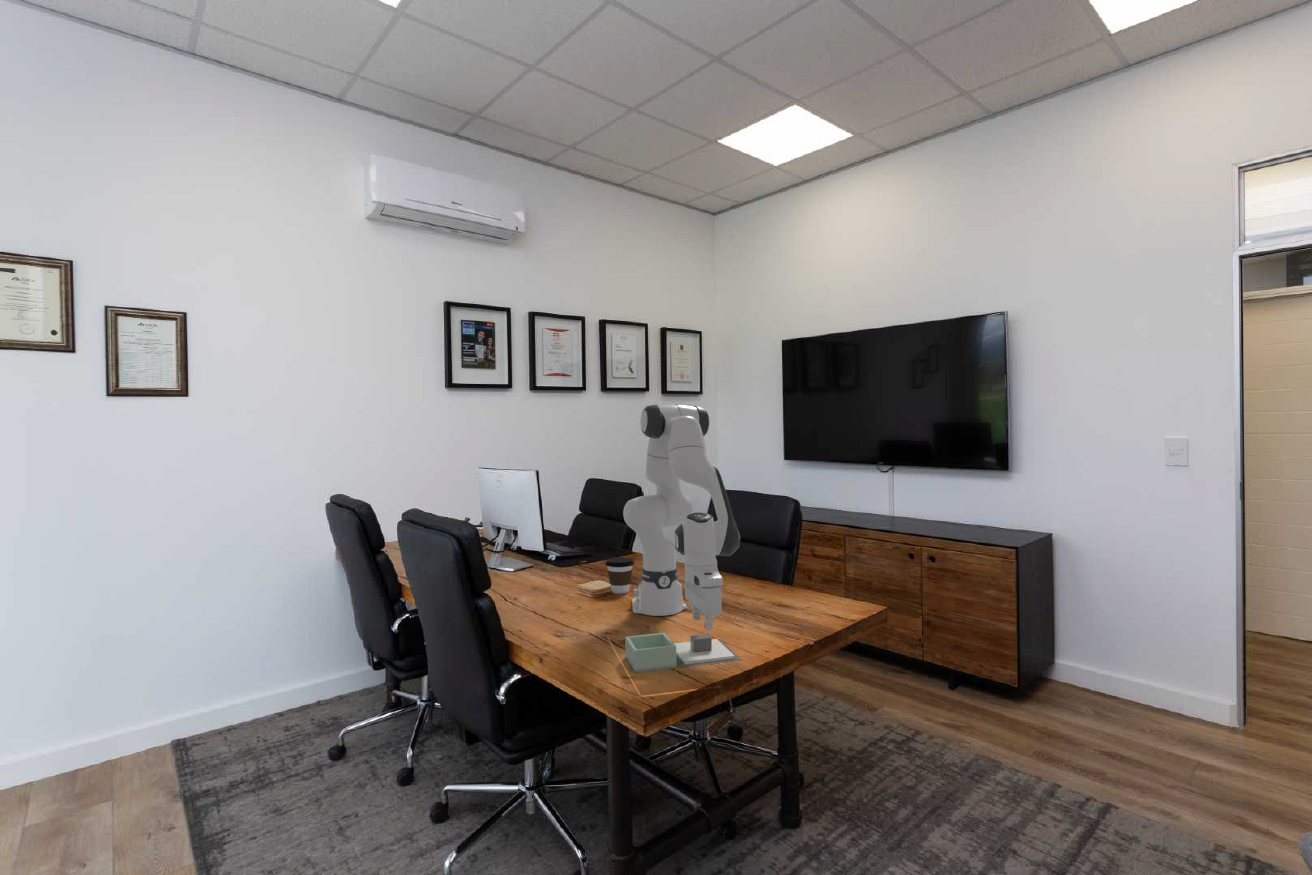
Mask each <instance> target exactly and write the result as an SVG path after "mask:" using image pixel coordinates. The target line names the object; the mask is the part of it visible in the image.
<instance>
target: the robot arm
mask: <svg viewBox="0 0 1312 875" xmlns="http://www.w3.org/2000/svg"><path fill="white" fill-rule="evenodd" d="M639 423H640V429H641V432H642V433H643V435H644V436H645V437H647V438H648V444H647V450H646V462H645V476H646V479H647V480H648V482H650V483H651V484H653V485H655V488H656V494H651V495H641V496H637V497H635V498H631V499H630V500H628V501H626V503H625V505H624V508H623V511H622V512H623V513H622V514H623V515H622V516H623V519H624V522H625V524H626V525H627V526H628V527H629V528H630V529H631V530H633V531H634V532H635V533H636V535H637V537H638V538H639V541H640V544H641V548H642V569H641V580H640V582H639V584H638V586H637V588H633V596H634V597H633V598H632V599H631V607H632V613H634V614H642V615H647V616H653V617H655V616H657V617H663V616H670V615H675V614H679V613H680V612H682V611H683V610H685V609H688V604H687V603H685V602H684V599H683V585H682V583H681V582H679V580H678V574H679V572H678V568H677V552H678V553H680V555H682V556H685V558H684V598H685V601H687V602H689V603H690V607H691V612H692V619H693V620H694V621H701V620H702V617H701V615H702V614H704V618H705V622H704V623H703V625H704V629H705V630H706V631H712V630H713V623H714V620H715V617H719V616H721V613H722V606H723V605H722V604H723V603H722V601H723V598H722V595H723V593H722V587H721V586H723V585H724V579H723V576H722V575H721V574H720V571H719V568H718V560H717V556H718V557H719V556H722V557H724V556H725V557H730V556H732V555H733V554H735V552H736V551H737V550H738V549H739V548H740V545H741V535H740V531H739V529H738V526H737V523H736V520H735V518H734V515H733V511H732V508H731V505H730V501H729V497H728V495H727V494H728V493H727V491H726V488H725V484H724V481H723V478H722V475H721V473H720V471H719V468H717V467H715V466H713V464H711V461H710V460H709V458H708V456H707V452H706V451H707V450H706V445H705V443H706V442H705V439H704V437H705V436H706V435H708V432H709V428H710V417H709V413H708V411H707V409H705V408H704V407H701V406H698V405H693V406H692V405H685V404H661V405H660V404H659V405H658V404H651V405H648V406H645V408H644V409H643V410H642V413H641V416H640V422H639ZM680 480H681V481H683V482H685V483H688V484H690V485H695V486H697V487H700V488H702V489H704V490H705V491H706V492H708V493H709V495H710V497H711V500H712V503H713V507H714V510H715V514H716V517H717V520H715V521H714V517H713V516H712V515H711V514H709V513H707V512H693V511H694V510H693V503H692V500H691V499H690V498H689V496H688V495H687V494H685V492H684V491H683V488H682V486H681V483H680ZM673 526H678V527H676V528H675V530H674V534H675V543H674V542H673V541H671V540H670V539H669V538H667V537H665V535H664V533H663V532H664V531H663V528H665V527H666V528H667V527H673ZM700 612H701V613H702V614H701V613H700Z"/></svg>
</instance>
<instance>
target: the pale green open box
mask: <svg viewBox="0 0 1312 875" xmlns="http://www.w3.org/2000/svg"><path fill="white" fill-rule="evenodd" d="M624 638H625V639H624V641H625V643H624V645H625V659H626V660H627V663H628V664H629V666H630V667H631V669H632V670H633V673H634V674H636V673H646V672H654V671H662V670H671V669H677V668H678V667H677V666H678V664H677V662H676V645H675V644H674V643H675V642H673V640H672V639H671V638H670V637H669V636H668V634H667V633H666V632H659V633H658V632H657V633H651V634H648V633H647V634H641V635H632V636H625V637H624Z"/></svg>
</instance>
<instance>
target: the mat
mask: <svg viewBox="0 0 1312 875" xmlns="http://www.w3.org/2000/svg"><path fill="white" fill-rule="evenodd" d="M717 640H718V641H719V642H720V643H722V644H723V645H724V646H725V647H726V648H727V649H728V650H729V651H730V652H731V653H732V654H733V655H734V656H735V659H728V660H720V661H711V662H702V663H694V664H685V665H684V664H683V663H682V661H681V660H680V659H679V658H678V656H677V655H676V662H677V666H679V668H686V667H687V668H688V667H696V666H697V667H698V666H705V665H715V664H721V663H730V662H738V661H740V662H741V661H743V659H742V658H741V657H739V655H737V654H736V653H735V652H734V651H733V650H732V649H731V648H729V647H728V645H726V643H724V642H723V641H722V640H721V639H717Z"/></svg>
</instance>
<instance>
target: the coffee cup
mask: <svg viewBox="0 0 1312 875" xmlns="http://www.w3.org/2000/svg"><path fill="white" fill-rule="evenodd" d="M604 564H605V566H606V567H607V576H608V580H609V584H610V589H611V592H612V593H613V594H616V595H619V594H628V593H629V591H630V586H631V582H632V574H633V566H634V565H635V561H634V558H632V557H627V556H626V557H625V556H617V557H615V556H614V557H611V558H607V559H606V561H605V563H604Z"/></svg>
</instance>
